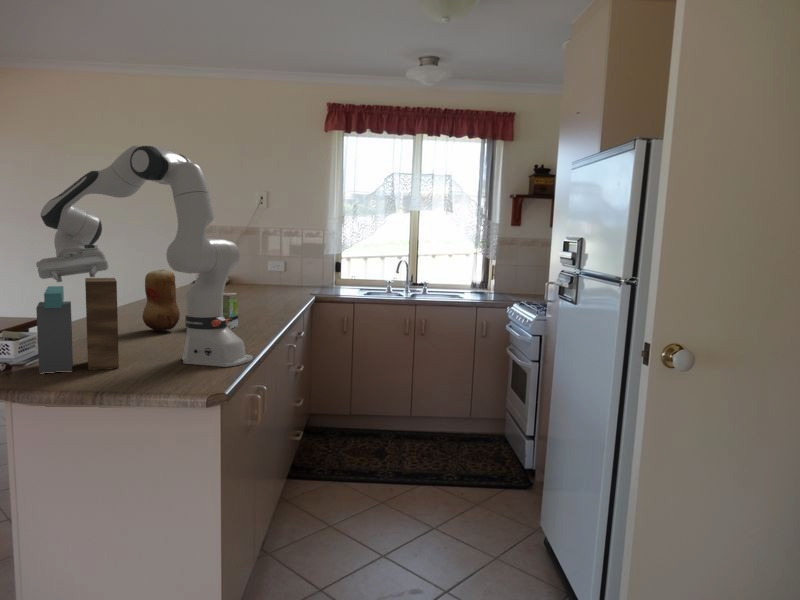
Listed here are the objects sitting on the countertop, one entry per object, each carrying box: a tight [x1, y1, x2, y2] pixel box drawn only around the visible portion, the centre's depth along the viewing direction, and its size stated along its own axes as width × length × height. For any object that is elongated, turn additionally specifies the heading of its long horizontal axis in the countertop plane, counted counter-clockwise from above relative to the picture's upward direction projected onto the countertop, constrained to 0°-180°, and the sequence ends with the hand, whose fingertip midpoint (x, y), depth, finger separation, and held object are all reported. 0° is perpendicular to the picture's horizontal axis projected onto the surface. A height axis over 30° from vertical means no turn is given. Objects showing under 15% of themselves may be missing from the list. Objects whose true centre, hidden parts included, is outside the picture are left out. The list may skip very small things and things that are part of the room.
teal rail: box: [43, 285, 65, 308], centre depth 165 cm, size 20×4×4 cm, turn 29°
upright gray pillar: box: [35, 300, 74, 374], centre depth 164 cm, size 12×8×19 cm, turn 29°
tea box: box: [223, 292, 239, 330], centre depth 240 cm, size 15×10×15 cm, turn 84°
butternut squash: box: [142, 268, 181, 333], centre depth 226 cm, size 14×13×25 cm
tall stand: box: [84, 277, 120, 371], centre depth 170 cm, size 12×8×26 cm, turn 29°
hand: (75, 277), depth 182 cm, fingers open, 8 cm apart
